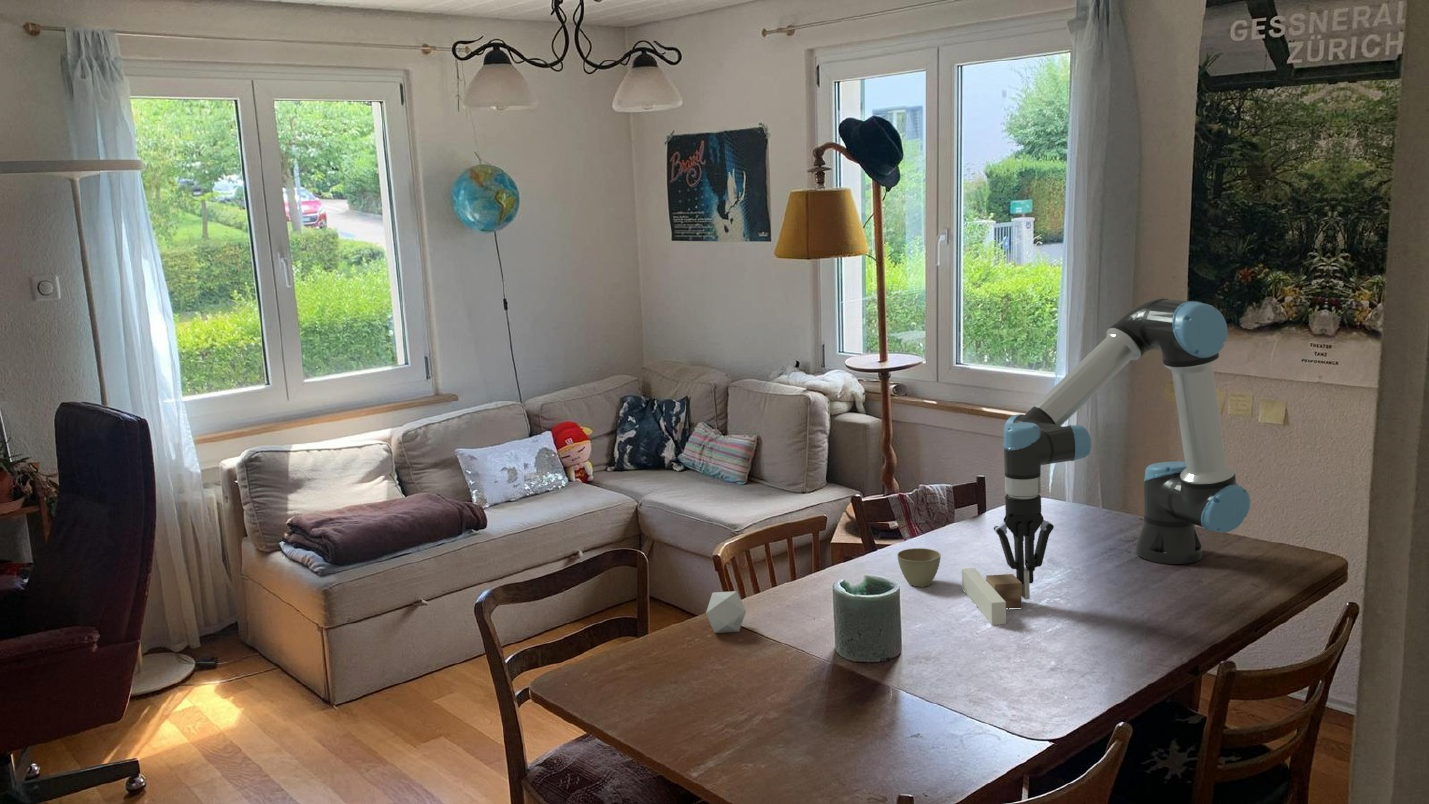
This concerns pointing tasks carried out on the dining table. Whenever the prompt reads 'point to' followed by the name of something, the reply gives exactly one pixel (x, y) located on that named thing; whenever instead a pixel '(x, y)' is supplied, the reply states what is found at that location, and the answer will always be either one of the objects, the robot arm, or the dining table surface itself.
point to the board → (984, 596)
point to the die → (725, 612)
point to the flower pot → (919, 565)
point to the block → (1007, 589)
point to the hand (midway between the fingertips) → (1025, 597)
